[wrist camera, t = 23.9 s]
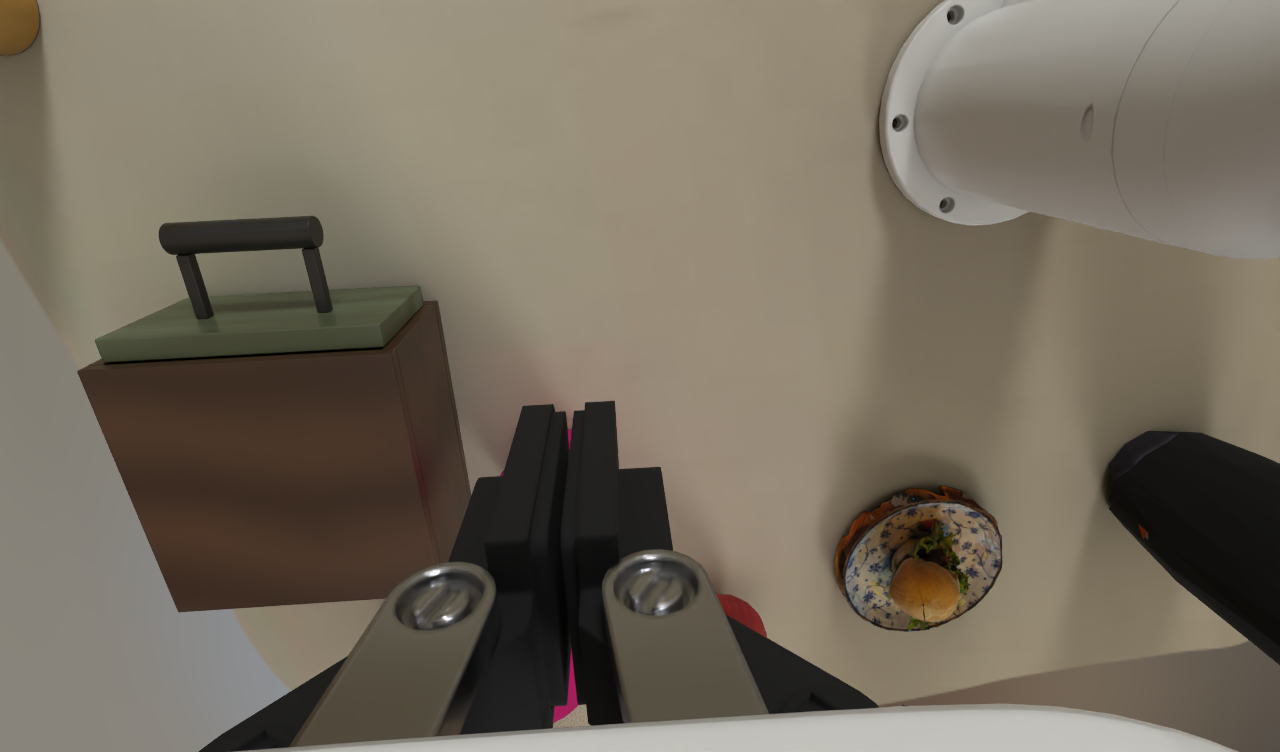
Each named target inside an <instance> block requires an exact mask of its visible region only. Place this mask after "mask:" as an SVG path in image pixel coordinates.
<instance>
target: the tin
mask: <svg viewBox="0 0 1280 752" xmlns="http://www.w3.org/2000/svg"><path fill="white" fill-rule="evenodd" d="M38 29H39V10H38V6H37V2H36V0H0V56H9V55H14V54H18V53H20V52H22V51H24V50H25V49H27V48H28V47H29V46H30V45H31V44H32V42H33V41H34V40H35V37H36V35H37V32H38Z"/></svg>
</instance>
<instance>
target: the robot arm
mask: <svg viewBox="0 0 1280 752" xmlns="http://www.w3.org/2000/svg"><path fill="white" fill-rule="evenodd" d="M948 12H949V13H950V15H951V18H950V21H949V22H948V21H947V13H948ZM894 118H896V119H897V125H896V126H895V127H894V128H893V127H892V122H893V119H894ZM879 131H880V144H881V149H882V153H883V157H884V161H885V164H886V167H887V169H888V171H889V173H890V175H891V177H892V180H893V182H894V183H895V184H896V186H897V187H898V188H899V190H900V191H901V192H902V194H903V195H904V196H905V197H906V198H907V199H908V200H909V201H910V202H912V203H913V204H914V205H915V206H916V207H918V208H919V209H920V210H922V211H924V212H926V213H928V214H930V215H932V216H934V217H936V218H939V219H942V220H946V221H949V222H951V223H957V224H964V225H971V226H974V225H990V224H996V223H1000V222H1004V221H1008V220H1012V219H1015V218H1017V217H1019V216H1021V215H1024V214H1026V213H1028V212H1034V213H1038V214H1043V215H1047V216H1051V217H1055V218H1059V219H1063V220H1067V221H1072V222H1076V223H1080V224H1084V225H1088V226H1092V227H1097V228H1101V229H1105V230H1109V231H1113V232H1117V233H1122V234H1126V235H1130V236H1134V237H1138V238H1142V239H1146V240H1151V241H1155V242H1159V243H1163V244H1167V245H1171V246H1176V247H1180V248H1184V249H1189V250H1193V251H1198V252H1202V253H1206V254H1211V255H1217V256H1223V257H1230V258H1237V259H1279V258H1280V0H944V1H943V2H941V3H940V4H939V5H937V6H936V7H935V8H934V9H933V10H932V11H931V12H930V13H929V14H928V15H927V16H926V17H925V18H924V19H923V20H922V21H921V22H920V23H919V24H918V25H917V26H916V27H915V29H914V30H913V32H912V33H911V35H910V36H909V37H908V39H907V40H906V42H905V43H904V45H903V46H902V47H901V49H900V51H899V53H898V55H897V57H896V59H895V61H894V63H893V65H892V68H891V70H890V72H889V75H888V78H887V81H886V85H885V88H884V91H883V95H882V101H881V108H880V116H879ZM942 200H943V204H942V206H941V207H939V205H940V202H941V201H942ZM571 649H572V659H573V668H574V677H575V686H576V695H577V703H578V705H583V704H586V706H587V716H588V723H589V724H590V725H591V726H580V727H566V728H553V718H554V707H555V706H566V705H567V702H568V689H569V675H570V660H571ZM199 752H1238V751H1235V750H1233V749H1230V748H1227V747H1225V746H1222V745H1220V744H1217V743H1215V742H1212V741H1209V740H1207V739H1203V738H1200V737H1197V736H1194V735H1191V734H1188V733H1185V732H1182V731H1179V730H1176V729H1172V728H1167V727H1164V726H1160V725H1155V724H1152V723H1148V722H1144V721H1139V720H1135V719H1131V718H1127V717H1123V716H1119V715H1114V714H1108V713H1101V712H1094V711H1087V710H1080V709H1072V708H1065V707H1058V706H1039V705H1019V704H1018V705H1017V704H974V705H972V704H971V705H936V706H935V705H933V706H906V705H902V706H898V707H883V708H879V707H878V705H877V704H876V703H875V702H873V701H872V700H871V699H869V698H868V697H867V696H865V695H864V694H862V693H861V692H860V691H858V690H857V689H855V688H853V687H851V686H850V685H848V684H846V683H844V682H843V681H841V680H839V679H837V678H836V677H834V676H832V675H830V674H829V673H827V672H825V671H823V670H822V669H820V668H818V667H817V666H815V665H813V664H811V663H810V662H808V661H806V660H804V659H803V658H801V657H799V656H797V655H796V654H794V653H792V652H790V651H789V650H787V649H785V648H783V647H782V646H780V645H778V644H777V643H775V642H773V641H771V640H770V639H768V638H766V637H764V636H763V635H761V634H759V633H757V632H756V631H754V630H752V629H750V628H749V627H747V626H745V625H743V624H742V623H740V622H738V621H737V620H735V619H733V618H731V617H730V616H728V615H726V614H725V612H724V610H723V608H722V606H721V603H720V601H719V599H718V597H717V594H716V592H715V590H714V588H713V585H712V583H711V581H710V579H709V576H708V574H707V573H706V572H705V570H704V569H703V567H702V566H701V565H700V564H699V563H697V562H696V561H695V560H693V559H692V558H691V557H689V556H686V555H684V554H681V553H678V552H676V551H673V547H672V540H671V533H670V526H669V520H668V513H667V506H666V499H665V492H664V486H663V479H662V472H661V468H660V467H650V468H633V469H619V461H618V445H617V428H616V412H615V401H604V402H586V403H585V410H582V411H574V416H573V425H572V433H571V442H570V450H569V440H568V429H567V419H566V413H565V411H564V412H555V409H554V405H553V404H550V405H532V406H523V407H522V411H521V414H520V418H519V421H518V425H517V428H516V431H515V435H514V438H513V442H512V445H511V449H510V452H509V456H508V459H507V463H506V466H505V470H504V473H503V476H497V477H481V478H478V480H477V482H476V484H475V487H474V490H473V493H472V496H471V498H470V501H469V504H468V507H467V510H466V513H465V515H464V518H463V521H462V524H461V527H460V530H459V532H458V535H457V538H456V541H455V544H454V547H453V549H452V552H451V555H450V558H449V561H448V562H447V563H441V564H437V565H433V566H430V567H426V568H424V569H422V570H420V571H418V572H416V573H413V574H411V575H410V576H409V577H407V578H406V579H405V580H403V581H402V582H400V583H399V584H398V585H397V586H396V587H395V588H394V589H393V591H392V592H391V593H390V594H389V595H388V596H387V598H386V600H385V601H384V603H383V604H382V606H381V607H380V609H379V610H378V612H377V613H376V615H375V616H374V618H373V619H372V621H371V622H370V624H369V625H368V627H367V628H366V630H365V631H364V633H363V635H362V636H361V638H360V639H359V641H358V642H357V644H356V645H355V647H354V648H353V650H352V651H351V653H350V654H349V656H347V657H346V658H344V659H342V660H341V661H339V662H338V663H336V664H334V665H333V666H331V667H330V668H328V669H326V670H325V671H323V672H321V673H320V674H318V675H317V676H315V677H313V678H312V679H310V680H309V681H307V682H305V683H304V684H302V685H301V686H299V687H297V688H296V689H294V690H292V691H291V692H289V693H288V694H286V695H284V696H283V697H281V698H280V699H278V700H277V701H275V702H273V703H272V704H270V705H268V706H267V707H266V708H264V709H262V710H260V711H259V712H257V713H255V714H254V715H252V716H251V717H249V718H248V719H246V720H244V721H243V722H241V723H239V724H238V725H236V726H235V727H233V728H231V729H230V730H228V731H226V732H225V733H223V734H222V735H220V736H219V737H218V738H216V739H215V740H213V741H212V742H211V743H209V744H208V745H207V746H205V747H204V748H203V749H201V750H200V751H199Z"/></svg>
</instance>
